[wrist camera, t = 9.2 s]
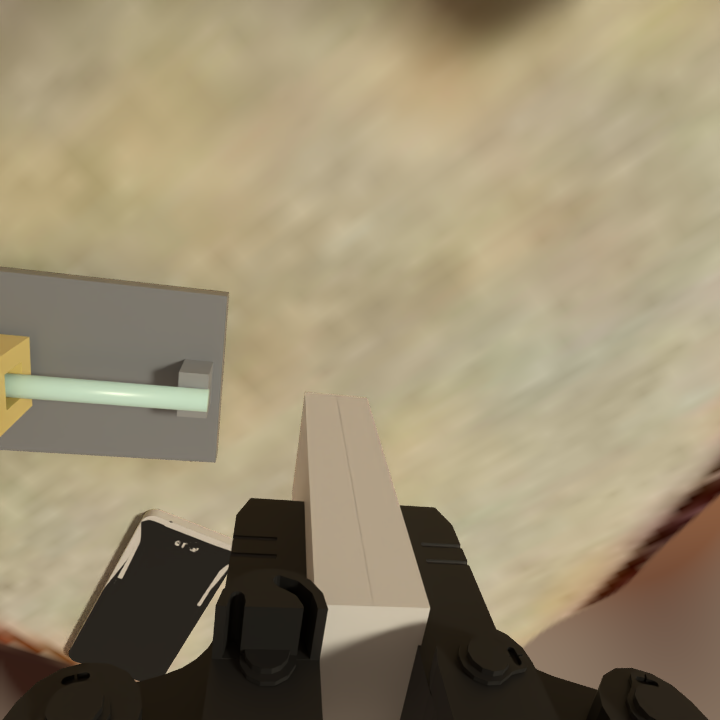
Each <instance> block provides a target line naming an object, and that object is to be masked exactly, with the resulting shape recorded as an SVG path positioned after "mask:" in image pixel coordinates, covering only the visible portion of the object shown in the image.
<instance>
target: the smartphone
mask: <svg viewBox="0 0 720 720" xmlns="http://www.w3.org/2000/svg"><path fill="white" fill-rule="evenodd" d="M185 527H186V528H185ZM232 541H233V538H231V537H229V536H226V535H224V534H221V533H218V532H216V531H213V530H211V529H208V528H206V527H203V526H201V525H198V524H196V523H193V522H190V521H188V520H185V519H183V518H180V517H178V516H175V515H173V514H170V513H167V512H165V511H162V510H160V509H151V510H148V511H147V512H146V513H145V514H144V515H143V517H142V519H141V521H140V523H139V524H138V526H137V528H136V530H135V532H134V533H133V535H132V537H131V539H130V541H129V542H128V544H127V546H126V548H125V550H124V551H123V553H122V555H121V557H120V559H119V560H118V562H117V564H116V566H115V568H114V569H113V571H112V573H111V575H110V577H109V579H108V580H107V582H106V584H105V586H104V588H103V589H102V591H101V593H100V595H99V597H98V598H97V600H96V602H95V604H94V606H93V607H92V609H91V611H90V613H89V615H88V616H87V618H86V620H85V622H84V624H83V625H82V627H81V629H80V631H79V633H78V634H77V636H76V638H75V640H74V642H73V644H72V646H71V648H70V650H69V657H70V658H71V659H72V660H73V661H75V662H78V663H82V664H83V663H107V664H111V665H114V666H116V667H118V668H120V669H122V670H125V671H127V672H128V673H129V674H130V675H131V677H132V678H133V679H135V680H138V681H143V680H147V679H150V678H154V677H158V676H161V675H165V673H166V672H167V670H168V669H169V667H170V665H171V664H172V662H173V660H174V659H175V657H176V656H177V654H178V652H179V651H180V649H181V648H182V646H183V644H184V643H185V641H186V640H187V638H188V636H189V635H190V633H191V631H192V630H193V628H194V627H195V625H196V623H197V622H198V620H199V619H200V617H201V615H202V614H203V612H204V611H205V609H206V607H207V606H208V604H209V602H210V601H211V599H212V598H213V596H214V594H215V593H216V591H217V590H218V588H219V586H220V585H221V583H222V582H223V580H224V578H225V577H226V575H227V573H228V567H229V560H230V555H231V547H232Z"/></svg>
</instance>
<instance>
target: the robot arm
mask: <svg viewBox="0 0 720 720" xmlns="http://www.w3.org/2000/svg"><path fill="white" fill-rule="evenodd" d="M3 720H708V719H707V718H706V717H705V716H704V715H703V714H702V712H701V711H699V710H698V708H697V707H696V706H695V705H694V704H693V703H692V702H691V701H690V700H689V699H687V698H686V697H685V696H684V695H683V694H682V693H680V692H679V691H678V690H677V689H676V688H675V687H673V686H672V685H670V684H669V683H667V682H665V681H663V680H662V679H660V678H658V677H656V676H654V675H653V674H650V673H647V672H644V671H640V670H637V669H633V668H615V669H613V670H612V671H610V672H608V673H607V674H605V675H604V676H603V678H602V681H601V683H600V685H599V688H598V690H596V689H593V688H590V687H586V686H583V685H580V684H576V683H573V682H570V681H567V680H563V679H560V678H557V677H554V676H551V675H549V674H546V673H544V672H541V671H539V670H537V669H536V668H535V667H534V665H533V663H532V662H531V660H530V658H529V657H528V655H527V654H526V652H525V651H524V650H523V648H522V647H521V646H520V645H519V644H517V643H516V642H515V641H514V640H513V639H511V638H510V637H509V636H508V635H507V634H505V633H503V632H501V631H498V630H496V628H495V625H494V623H493V621H492V618H491V616H490V614H489V611H488V609H487V607H486V604H485V602H484V599H483V597H482V595H481V592H480V590H479V588H478V585H477V583H476V581H475V578H474V576H473V573H472V571H471V569H470V566H469V565H467V559H466V557H465V555H464V552H463V550H462V549H461V548H460V543H459V540H458V538H457V536H456V533H455V531H454V529H453V526H452V525H451V523H450V522H449V521H448V520H447V519H446V518H445V517H444V516H443V515H442V514H441V513H440V512H439V511H438V510H437V509H436V508H433V507H417V506H401V505H399V502H398V498H397V495H396V492H395V488H394V485H393V482H392V478H391V475H390V472H389V468H388V465H387V462H386V458H385V455H384V452H383V448H382V445H381V442H380V438H379V435H378V432H377V428H376V425H375V422H374V418H373V415H372V412H371V408H370V405H369V402H368V398H366V397H356V396H345V395H334V394H323V393H312V392H305V396H304V404H303V412H302V419H301V427H300V435H299V443H298V451H297V459H296V467H295V474H294V482H293V490H292V501H289V500H273V499H257V498H250V500H249V501H248V502H247V503H246V504H245V505H244V507H243V508H242V509H241V510H240V511H239V512H238V514H237V515H236V522H235V528H234V535H233V541H232V547H231V555H230V560H229V567H228V573H227V580H226V586H225V588H224V589H223V590H222V593H221V595H220V597H219V599H218V602H217V604H216V609H215V622H214V634H213V641H212V643H211V644H210V646H209V647H208V649H206V650H205V651H204V652H203V653H202V654H201V655H200V656H199V657H198V658H197V659H196V660H194V661H192V662H191V663H189V664H188V665H186V666H184V667H183V668H181V669H178V670H175V671H173V672H170V673H168V674H165V675H161V676H158V677H154V678H150V679H147V680H143V681H140V682H135V681H134V679H133V678H132V677H131V675H130V674H129V673H128V672H127V671H125V670H122V669H120V668H118V667H116V666H114V665H111V664H107V663H83V664H79V665H75V666H71V667H67V668H63V669H60V670H58V671H57V672H55V673H53V674H51V675H49V676H48V677H46V678H44V679H42V680H40V681H39V682H37V683H36V684H35V685H34V686H33V687H32V688H31V689H30V690H29V691H27V693H25V694H24V695H23V697H21V698H20V699H19V700H18V701H17V702H16V704H15V705H14V706H13V707H12V709H11V710H10V711H9V712H8V714H7V715H6V716H5V717H4V719H3Z"/></svg>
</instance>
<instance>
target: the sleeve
mask: <svg viewBox="0 0 720 720" xmlns="http://www.w3.org/2000/svg"><path fill="white" fill-rule="evenodd" d="M6 373H12V374H25V375H31V363H30V340H29V337H26V336H15V335H5V334H0V437H1V436H2V435H3V434H4V433H5V432H6V431H7V430H8V429H9V428H10V427H11V426H12V425H13V424H14V423H15V422H16V421H17V420H18V419H19V418H20V417H21V416H22V415H23V414H24V413H25V412H26V411H27V410H28V409H29V408H31V407H32V399H24V398H10V397H6V392H5V374H6Z"/></svg>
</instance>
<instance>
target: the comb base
mask: <svg viewBox="0 0 720 720" xmlns="http://www.w3.org/2000/svg"><path fill="white" fill-rule="evenodd" d="M228 299H229V292H222V291H213V290H204V289H195V288H186V287H177V286H168V285H159V284H150V283H141V282H132V281H123V280H114V279H105V278H96V277H87V276H79V275H70V274H61V273H52V272H43V271H34V270H25V269H16V268H7V267H0V334H5V335H15V336H26V337H29V340H30V363H31V375H25V374H12V373H6V374H5V392H6V397H10V398H24V399H32V407H31V408H29V409H28V410H27V411H26V412H25V413H24V414H23V415H22V416H21V417H20V418H19V419H18V420H17V421H16V422H15V423H14V424H13V425H12V426H11V427H10V428H9V429H8V430H7V431H6V432H5V433H4V434H3V435H2V436H1V437H0V450H12V451H29V452H46V453H63V454H80V455H97V456H114V457H131V458H148V459H165V460H182V461H199V462H216V458H217V451H218V437H219V424H220V410H221V396H222V382H223V368H224V354H225V340H226V327H227V313H228Z"/></svg>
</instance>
